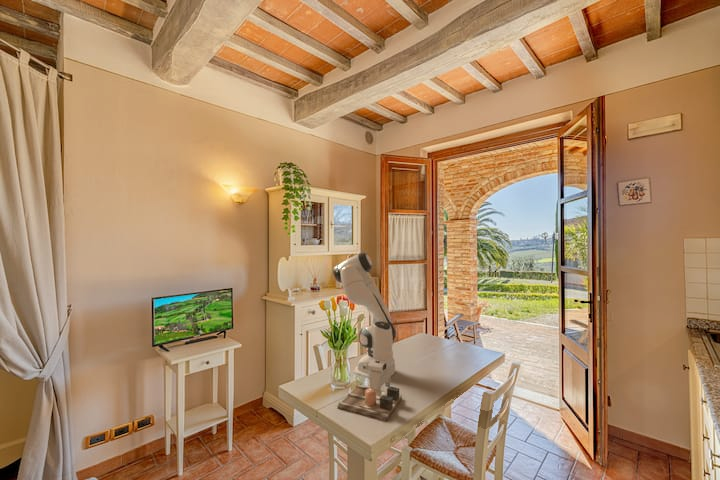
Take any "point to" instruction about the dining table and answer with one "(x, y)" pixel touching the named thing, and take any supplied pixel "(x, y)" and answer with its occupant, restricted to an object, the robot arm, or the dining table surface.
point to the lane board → (355, 401)
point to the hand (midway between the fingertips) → (383, 390)
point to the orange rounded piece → (370, 397)
